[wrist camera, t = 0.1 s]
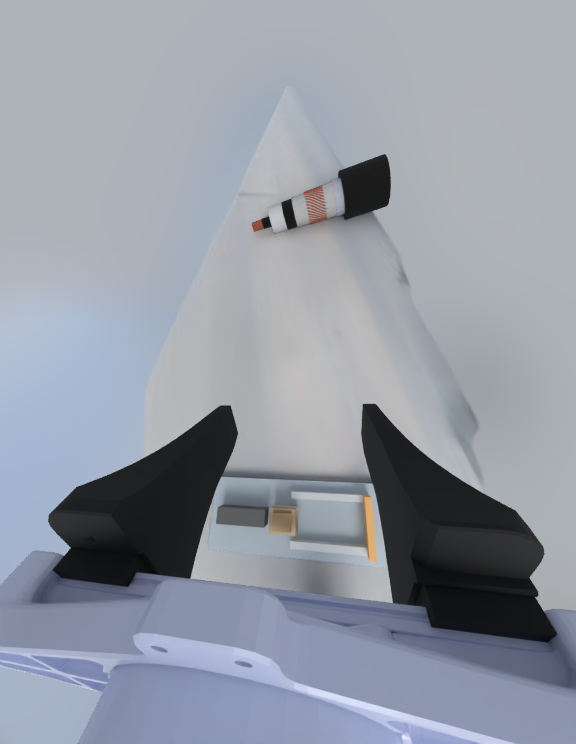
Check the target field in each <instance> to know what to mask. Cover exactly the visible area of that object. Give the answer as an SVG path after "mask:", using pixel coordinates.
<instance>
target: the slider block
mask: <svg viewBox="0 0 576 744" xmlns="http://www.w3.org/2000/svg"><path fill="white" fill-rule="evenodd" d="M297 531H298V506H288V505H273V506H272V507H270V517H269V534H277V535H289V536H295V535H296V533H297Z"/></svg>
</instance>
